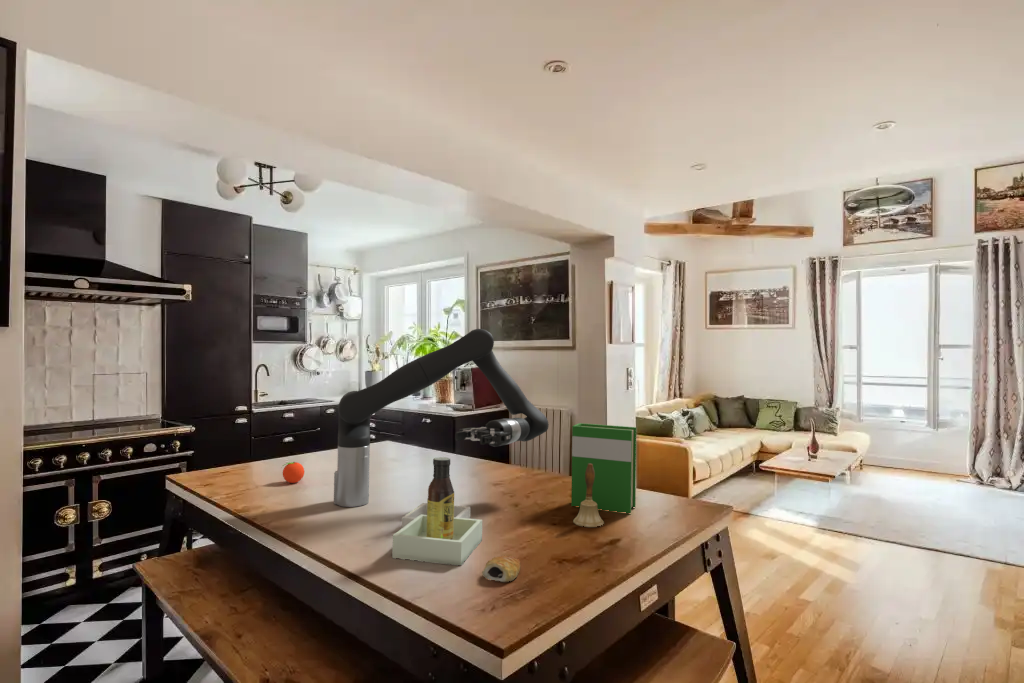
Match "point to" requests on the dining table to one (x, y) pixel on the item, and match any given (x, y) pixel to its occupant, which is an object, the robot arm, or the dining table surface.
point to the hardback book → (605, 465)
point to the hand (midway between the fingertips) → (468, 438)
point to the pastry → (502, 568)
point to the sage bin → (437, 542)
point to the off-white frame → (422, 509)
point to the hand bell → (588, 504)
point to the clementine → (293, 472)
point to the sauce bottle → (440, 501)
